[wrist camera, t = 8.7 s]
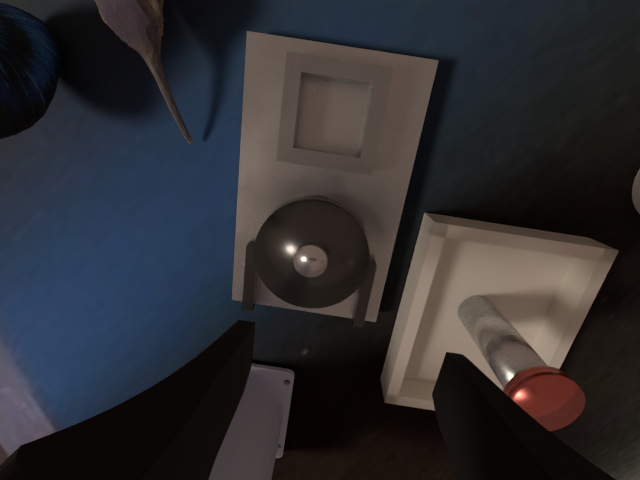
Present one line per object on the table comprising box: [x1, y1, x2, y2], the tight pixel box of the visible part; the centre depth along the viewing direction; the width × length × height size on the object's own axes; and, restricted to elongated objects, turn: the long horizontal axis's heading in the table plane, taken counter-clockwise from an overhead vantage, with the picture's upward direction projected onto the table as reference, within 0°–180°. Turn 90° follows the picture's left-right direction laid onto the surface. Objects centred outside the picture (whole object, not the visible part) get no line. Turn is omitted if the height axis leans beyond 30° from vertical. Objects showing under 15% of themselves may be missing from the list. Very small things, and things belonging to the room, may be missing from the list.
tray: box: [380, 213, 619, 411], centre depth 21 cm, size 14×11×2 cm
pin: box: [457, 296, 585, 431], centre depth 18 cm, size 3×3×8 cm
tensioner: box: [232, 31, 439, 328], centre depth 19 cm, size 16×10×3 cm, turn 172°
